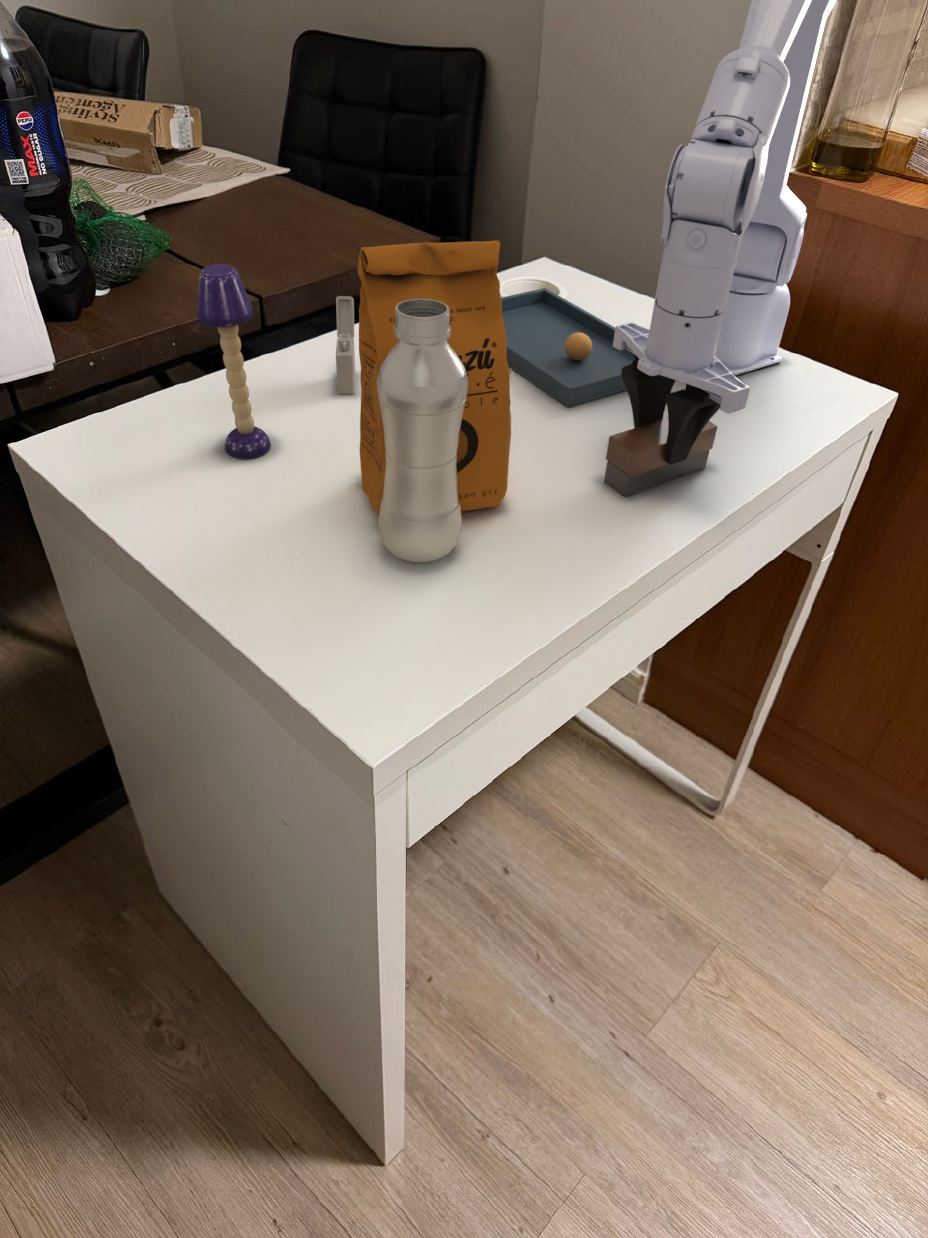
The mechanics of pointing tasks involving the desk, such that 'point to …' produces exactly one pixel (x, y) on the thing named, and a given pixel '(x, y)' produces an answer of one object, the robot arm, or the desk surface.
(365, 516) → the desk surface
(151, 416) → the desk surface
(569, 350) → the wooden bead
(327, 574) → the desk surface
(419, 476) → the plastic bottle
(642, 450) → the brush
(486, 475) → the coffee package
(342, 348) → the lighter
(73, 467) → the desk surface
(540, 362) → the tray
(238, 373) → the toy lamp
